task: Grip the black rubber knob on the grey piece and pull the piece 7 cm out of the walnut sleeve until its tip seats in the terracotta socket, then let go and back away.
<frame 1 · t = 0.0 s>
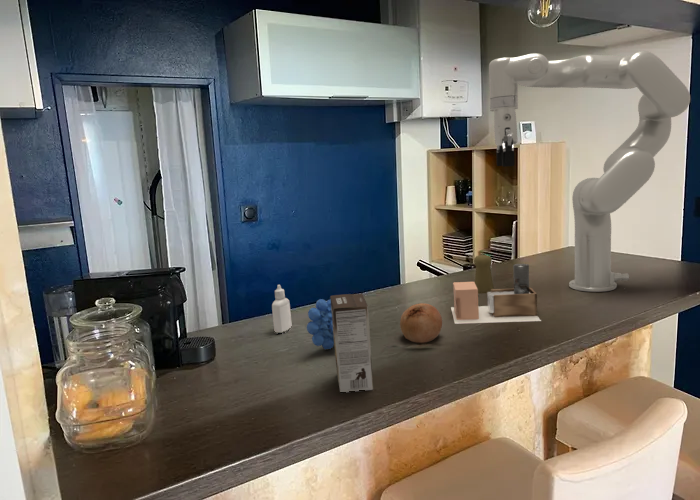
hand: (505, 166, 149), 37 cm above the counter, tool pointing down, fingers open, 9 cm apart
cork: (483, 292, 156), on the counter
eye dropper bottle: (283, 331, 133), on the counter
walnut sleeve: (513, 312, 130), resting on grey base board
terracotta socket: (468, 314, 131), resting on grey base board
grey piece: (508, 287, 129), point 7 cm above the counter, slide at 0.0 cm
grey base board: (493, 317, 131), on the counter
onion: (422, 342, 117), on the counter
grapes: (332, 351, 116), on the counter
coffee box: (354, 382, 99), on the counter
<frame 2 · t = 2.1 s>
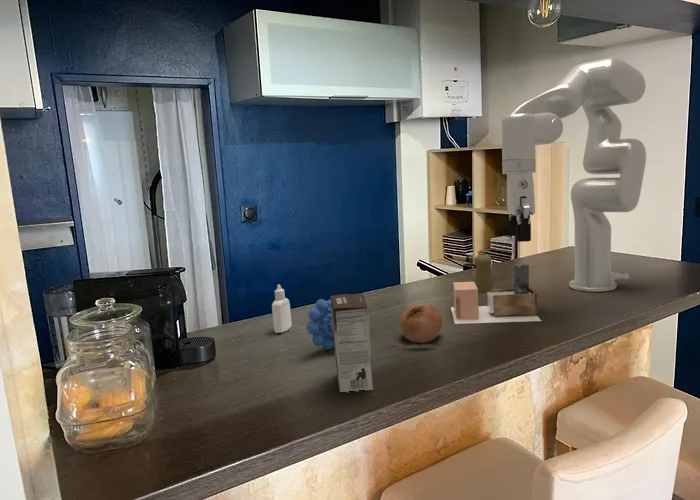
hand: (519, 238, 126), 20 cm above the counter, tool pointing down, fingers open, 9 cm apart
nothing on the counter moved.
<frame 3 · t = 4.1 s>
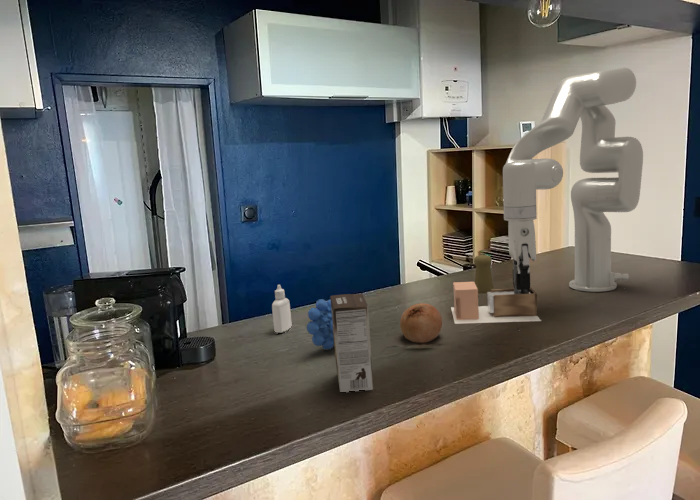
hand: (521, 286, 128), 8 cm above the counter, tool pointing down, fingers closed on grey piece, 3 cm apart
grey piece: (508, 287, 129), point 8 cm above the counter, slide at 0.0 cm, touching gripper
everything else where it was.
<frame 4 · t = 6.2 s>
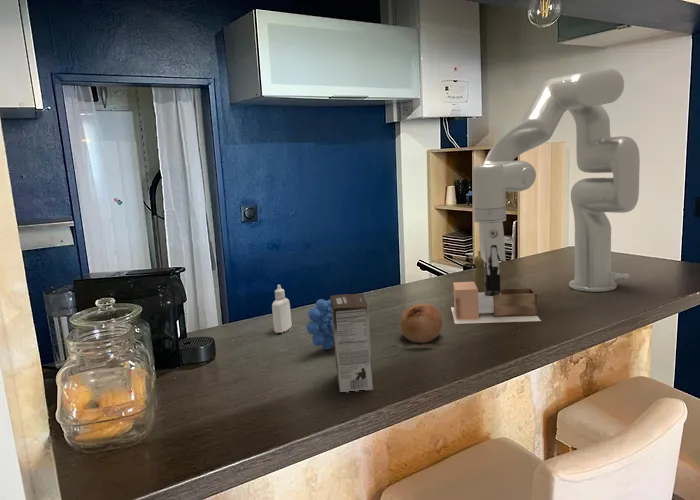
hand: (492, 287, 129), 8 cm above the counter, tool pointing down, fingers closed on grey piece, 3 cm apart
grey piece: (479, 289, 130), point 7 cm above the counter, slide at 7.1 cm, touching gripper
everything else where it was.
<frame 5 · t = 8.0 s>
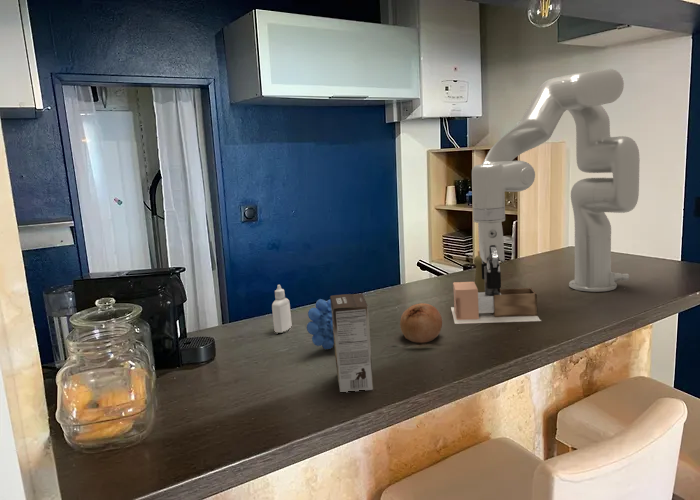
hand: (491, 283, 129), 9 cm above the counter, tool pointing down, fingers open, 9 cm apart
grey piece: (480, 289, 130), point 7 cm above the counter, slide at 7.0 cm
everything else where it was.
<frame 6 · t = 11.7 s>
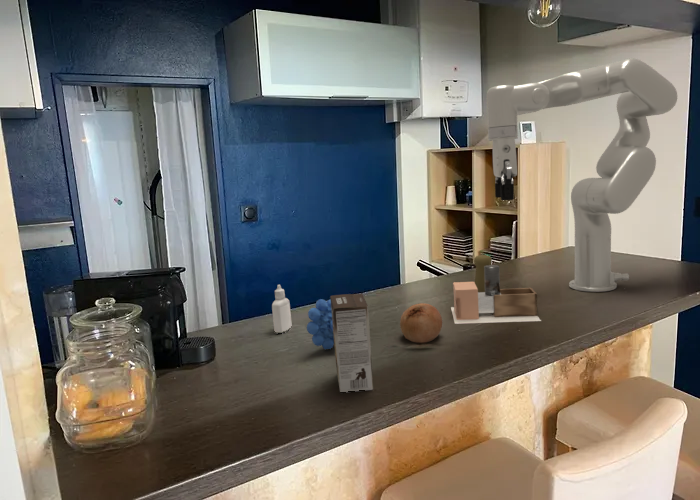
hand: (504, 198, 141), 28 cm above the counter, tool pointing down, fingers open, 9 cm apart
nothing on the counter moved.
at the end: grey piece slide at 7.0 cm; the gripper is holding nothing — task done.
